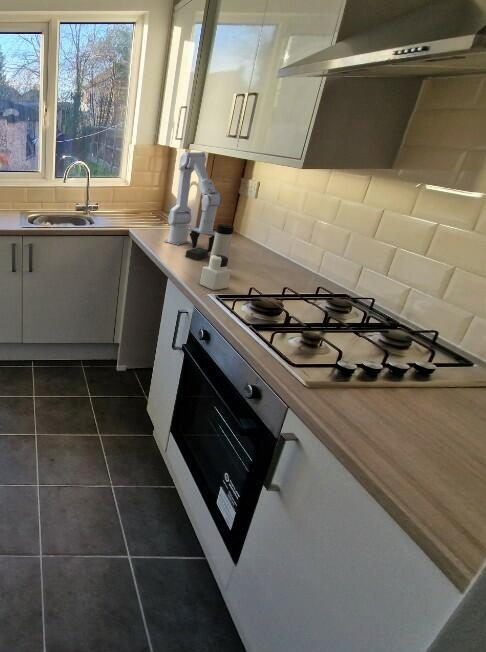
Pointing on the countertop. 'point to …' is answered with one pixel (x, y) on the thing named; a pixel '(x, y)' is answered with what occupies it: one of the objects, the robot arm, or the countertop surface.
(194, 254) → the black notched block
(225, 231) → the travel mug
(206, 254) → the grey t-shaped block
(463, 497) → the countertop surface
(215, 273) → the white block with post
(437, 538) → the countertop surface
